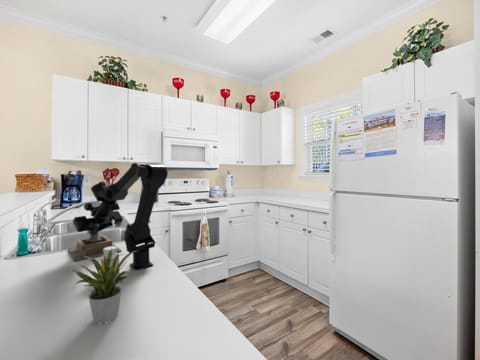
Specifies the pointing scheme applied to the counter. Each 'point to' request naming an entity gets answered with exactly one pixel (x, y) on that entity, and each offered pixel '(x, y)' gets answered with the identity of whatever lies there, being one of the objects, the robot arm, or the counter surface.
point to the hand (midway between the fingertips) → (92, 232)
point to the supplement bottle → (114, 253)
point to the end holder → (90, 248)
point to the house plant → (104, 288)
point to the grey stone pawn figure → (94, 236)
